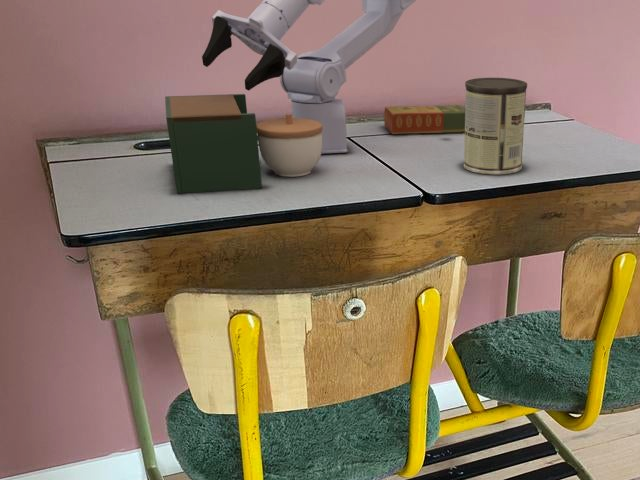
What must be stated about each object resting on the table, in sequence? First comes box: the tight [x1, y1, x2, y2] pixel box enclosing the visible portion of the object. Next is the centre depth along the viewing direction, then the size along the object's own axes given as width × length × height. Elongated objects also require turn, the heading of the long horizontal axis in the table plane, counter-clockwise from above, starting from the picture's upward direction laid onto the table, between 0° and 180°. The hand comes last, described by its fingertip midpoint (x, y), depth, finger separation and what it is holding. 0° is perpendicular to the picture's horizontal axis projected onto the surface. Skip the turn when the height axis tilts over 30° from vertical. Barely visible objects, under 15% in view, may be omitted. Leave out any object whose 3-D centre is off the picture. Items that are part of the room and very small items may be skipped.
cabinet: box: [164, 93, 263, 194], centre depth 131 cm, size 13×17×11 cm
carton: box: [383, 104, 465, 135], centre depth 166 cm, size 8×16×4 cm, turn 105°
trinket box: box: [256, 113, 323, 178], centre depth 135 cm, size 11×11×9 cm
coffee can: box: [463, 77, 528, 175], centre depth 139 cm, size 10×10×14 cm
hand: (225, 73), depth 128 cm, fingers open, 7 cm apart
